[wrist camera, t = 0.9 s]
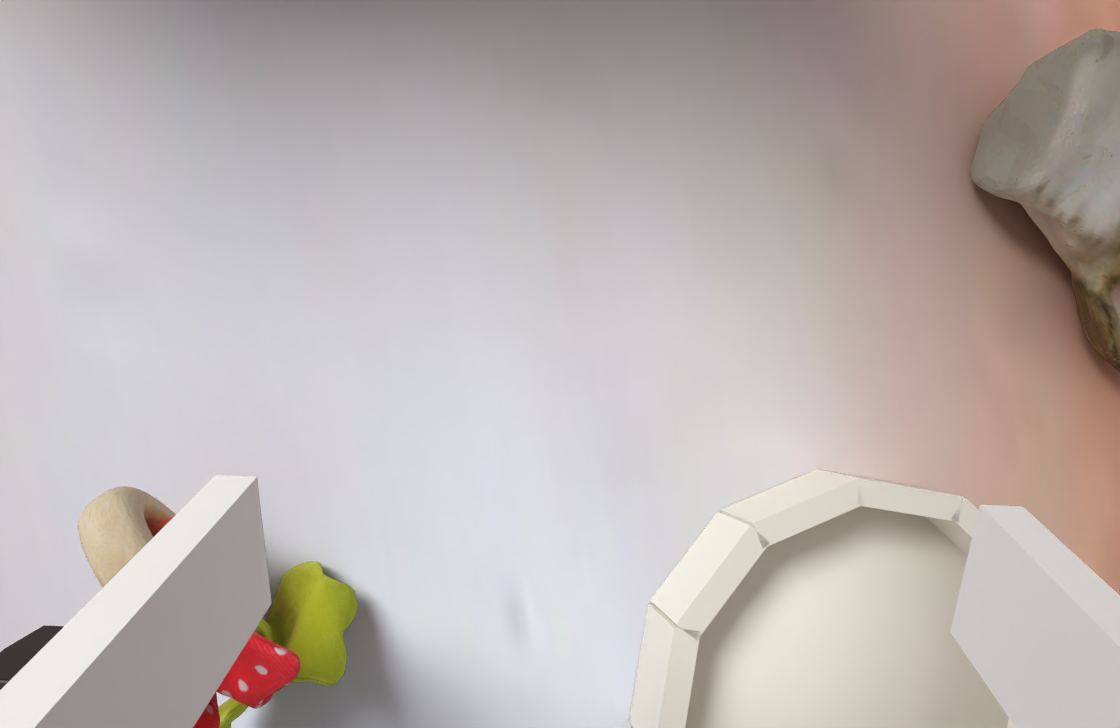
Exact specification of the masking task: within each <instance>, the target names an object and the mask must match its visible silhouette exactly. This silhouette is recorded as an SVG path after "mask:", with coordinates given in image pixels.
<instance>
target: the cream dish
mask: <svg viewBox="0 0 1120 728" xmlns="http://www.w3.org/2000/svg"><path fill="white" fill-rule="evenodd" d="M720 510H721V513H719V512H717V513H716V514H715V516H714V517H713V518H712V520H711V521H710V522H709V524H708V525H707V526H706V528H705V529H704V530H703V531H702V533H701V534H700V535H699V537H698V538H697V539H696V541H695V542H694V543H693V544H692V546H691V547H690V548H689V550H688V551H687V552H686V554H685V555H684V556H683V558H682V559H681V560H680V561H679V563H678V564H677V565H676V567H675V568H674V569H673V571H672V572H671V573H670V575H669V576H668V577H667V578H666V580H665V581H664V582H663V584H662V585H661V586H660V588H659V589H658V590H657V592H656V593H655V594H654V595H653V597H652V598H651V599H650V601H651V602H652V603H653V604H648V609H647V615H646V621H645V627H644V633H643V639H642V645H641V651H640V657H639V663H638V669H637V675H636V681H635V687H634V693H633V699H632V705H631V711H630V719H631V721H630V723H631V726H632V728H1016V727H1015V725H1014V724H1013V723H1012V721H1011V720H1010V718H1009V717H1008V715H1007V714H1006V712H1005V711H1004V709H1003V708H1002V707H1001V705H1000V704H999V702H998V701H997V699H996V698H995V696H994V695H993V694H992V692H991V691H990V689H989V688H988V686H987V685H986V683H985V682H984V681H983V679H982V678H981V676H980V675H979V673H978V672H977V670H976V669H975V668H974V666H973V665H972V663H971V662H970V660H969V659H968V657H967V656H966V654H965V653H964V652H963V650H962V649H961V647H960V646H959V644H958V643H957V641H956V640H955V639H954V637H953V636H952V634H951V633H950V631H951V626H952V622H953V618H954V613H955V609H956V605H957V600H958V596H959V592H960V588H961V583H962V579H963V575H964V570H965V566H966V562H967V557H968V553H969V549H970V544H971V540H972V536H973V531H974V527H975V523H976V519H977V514H978V509H977V508H976V507H975V506H974V505H973V504H972V503H971V502H970V501H969V500H968V499H966V498H965V497H962V496H959V495H954V494H950V493H945V492H940V491H935V490H930V489H925V488H920V487H915V486H910V485H904V484H898V483H893V482H887V481H881V480H875V479H869V478H864V477H858V476H852V475H846V474H841V473H835V472H829V471H823V470H818V471H817V470H813V471H811V472H809V473H806V474H804V475H802V476H799V477H797V478H794V479H792V480H790V481H787V482H785V483H782V484H780V485H778V486H775V487H773V488H771V489H768V490H766V491H763V492H761V493H759V494H756V495H754V496H751V497H749V498H747V499H744V500H742V501H740V502H737V503H735V504H732V505H730V506H728V507H725V508H723V509H720ZM654 604H655V605H654Z"/></svg>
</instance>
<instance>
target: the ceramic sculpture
mask: <svg viewBox="0 0 1120 728" xmlns="http://www.w3.org/2000/svg"><path fill="white" fill-rule="evenodd" d="M970 176H971V178H972V180H973V182H974V183H975V184H976V185H977V186H979V187H980V188H982V189H984V190H985V191H987V192H989V193H991V194H993V195H995V196H998V197H1000V198H1004V199H1008V200H1012V201H1015V202H1018V203H1020V204H1021V205H1022V206H1023V208H1024V209H1025V211H1026V212H1027V213H1028V215H1029V216H1030V218H1031V219H1032V220H1033V222H1034V223H1035V224H1036V225H1037V226H1038V228H1039V229H1040V230H1041V231H1042V232H1043V233H1044V235H1045V236H1046V238H1047V239H1048V241H1049V243H1050V244H1051V246H1052V247H1053V249H1054V250H1055V252H1056V253H1057V254H1058V255H1059V256H1060V258H1061V259H1062V260H1063V261H1064V262H1065V264H1066V265H1067V267H1068V268H1069V270H1070V271H1071V274H1072V278H1071V283H1072V287H1073V291H1074V294H1075V298H1076V302H1077V307H1078V312H1079V316H1080V320H1081V324H1082V328H1083V330H1084V333H1085V335H1086V337H1087V339H1088V340H1089V342H1090V343H1091V345H1092V346H1093V348H1094V349H1095V350H1096V351H1097V352H1098V353H1099V354H1100V355H1101V356H1102V357H1103V358H1104V359H1106V360H1107V361H1108V362H1109V363H1111V364H1112V365H1113V366H1114V368H1115V369H1116V370H1118V371H1120V32H1116V31H1105V30H1103V29H1094V30H1090V31H1088V32H1087V33H1085V34H1084V35H1082V36H1080V37H1078V38H1076V39H1075V40H1073V41H1071V42H1069V43H1067V44H1065V45H1063V46H1062V47H1060V48H1058V49H1056V50H1054V51H1053V52H1051V53H1050V54H1048V55H1046V56H1045V57H1043V58H1041V59H1040V60H1038V61H1037V62H1035V63H1033V64H1032V65H1031V66H1030V67H1028V68H1027V70H1026V72H1025V73H1024V75H1023V76H1022V78H1021V80H1020V81H1019V83H1018V84H1017V85H1016V86H1015V87H1014V88H1013V89H1012V91H1011V92H1010V94H1009V95H1008V97H1007V98H1006V99H1005V100H1004V101H1003V102H1002V103H1001V104H1000V105H999V106H998V107H997V108H996V109H995V110H994V111H993V112H992V113H991V114H990V116H989V117H988V118H987V120H986V121H985V123H984V125H983V127H982V130H981V133H980V136H979V140H978V146H977V149H976V153H975V156H974V158H973V161H972V163H971V174H970Z"/></svg>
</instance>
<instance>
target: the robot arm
mask: <svg viewBox="0 0 1120 728" xmlns="http://www.w3.org/2000/svg"><path fill="white" fill-rule="evenodd" d="M271 604H272V602H271V593H270V585H269V576H268V567H267V559H266V550H265V541H264V533H263V524H262V516H261V507H260V498H259V490H258V481H257V477H250V476H224V475H215V476H214V477H213V478H212V479H211V480H210V481H209V482H208V483H207V484H206V485H205V486H204V487H203V488H202V489H201V490H200V491H199V492H198V493H197V494H196V495H195V496H194V497H193V498H192V499H191V500H190V501H189V502H188V503H187V504H186V505H185V506H184V507H183V508H182V509H181V510H180V511H179V512H178V513H177V514H176V515H175V516H174V517H173V518H172V519H171V520H170V521H169V522H168V523H167V524H166V525H165V526H164V527H163V528H162V529H161V530H160V531H159V532H158V533H157V534H156V535H155V536H154V537H153V538H152V539H151V540H150V541H149V542H148V543H147V544H146V545H145V546H144V547H143V548H142V549H141V550H140V551H139V552H138V553H137V554H136V555H135V556H134V557H133V558H132V559H131V560H130V561H129V562H128V563H127V564H126V565H125V566H124V567H123V568H122V569H121V570H120V571H119V572H118V573H117V574H116V575H115V576H114V577H113V578H112V579H111V580H110V581H109V582H108V583H107V584H106V585H105V586H104V587H103V588H102V589H101V590H100V591H99V592H98V593H97V594H96V595H95V596H94V597H93V598H92V599H91V600H90V601H89V602H88V603H87V604H86V605H85V606H84V607H83V608H82V609H81V610H80V611H79V612H78V613H77V614H76V615H75V616H74V617H73V618H72V619H71V620H70V621H69V622H68V623H67V624H66V625H65V626H42V627H41V628H39V629H37V630H36V631H34V632H32V633H31V634H29V635H27V636H25V637H24V638H22V639H20V640H19V641H17V642H15V643H14V644H12V645H10V646H9V647H7V648H5V649H4V650H3V651H2V652H0V728H193V727H194V725H195V724H196V722H197V721H198V719H199V717H200V716H201V714H202V713H203V711H204V710H205V708H206V706H207V705H208V703H209V702H210V700H211V698H212V697H213V695H214V694H215V692H216V691H217V689H218V687H219V686H220V684H221V683H222V681H223V679H224V678H225V676H226V675H227V673H228V672H229V670H230V668H231V667H232V665H233V664H234V662H235V661H236V659H237V657H238V656H239V654H240V653H241V651H242V649H243V648H244V646H245V645H246V643H247V642H248V640H249V638H250V637H251V635H252V634H253V632H254V630H255V629H256V627H257V626H258V624H259V623H260V621H261V619H262V618H263V616H264V615H265V613H266V611H267V610H268V608H269V607H270V605H271ZM950 633H951V634H952V636H953V637H954V639H955V640H956V641H957V643H958V644H959V646H960V647H961V649H962V650H963V652H964V653H965V654H966V656H967V657H968V659H969V660H970V662H971V663H972V665H973V666H974V668H975V669H976V670H977V672H978V673H979V675H980V676H981V678H982V679H983V681H984V682H985V683H986V685H987V686H988V688H989V689H990V691H991V692H992V694H993V695H994V696H995V698H996V699H997V701H998V702H999V704H1000V705H1001V707H1002V708H1003V709H1004V711H1005V712H1006V714H1007V715H1008V717H1009V718H1010V720H1011V721H1012V723H1013V724H1014V725H1015V727H1016V728H1120V595H1119V594H1118V593H1116V592H1115V591H1114V590H1113V589H1112V588H1111V587H1110V586H1109V585H1108V584H1107V583H1106V582H1105V581H1103V580H1102V579H1101V578H1100V577H1099V576H1098V575H1097V574H1096V573H1095V572H1094V571H1093V570H1091V569H1090V568H1089V567H1088V566H1087V565H1086V564H1085V563H1084V562H1083V561H1082V560H1081V559H1079V558H1078V557H1077V556H1076V555H1075V554H1074V553H1073V552H1072V551H1071V550H1070V549H1069V548H1067V547H1066V546H1065V545H1064V544H1063V543H1062V542H1061V541H1060V540H1059V539H1058V538H1057V537H1056V536H1054V535H1053V534H1052V533H1051V532H1050V531H1049V530H1048V529H1047V528H1046V527H1045V526H1044V525H1042V524H1041V523H1040V522H1039V521H1038V520H1037V519H1036V518H1035V517H1034V516H1033V515H1032V514H1030V513H1029V512H1028V511H1027V510H1026V509H1025V508H1024V507H1023V506H998V505H980V506H979V510H978V514H977V519H976V523H975V527H974V531H973V536H972V540H971V544H970V549H969V553H968V557H967V562H966V566H965V570H964V575H963V579H962V583H961V588H960V592H959V596H958V600H957V605H956V609H955V613H954V618H953V622H952V626H951V631H950Z"/></svg>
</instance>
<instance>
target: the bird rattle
mask: <svg viewBox="0 0 1120 728" xmlns="http://www.w3.org/2000/svg"><path fill="white" fill-rule="evenodd" d="M175 515H176V514H175V513H174V512H172V511H171V510H170V509H169V508H168V507H166V506H165V505H164V504H163V503H161V502H160V501H159V500H157V499H156V498H154V497H152V496H151V495H149V494H147V493H145V492H143V491H141V490H139V489H136V488H132V487H126V486H125V487H116V488H113V489H111V490H108V491H107V492H105V493H104V494H102V495H100V496H99V497H97V498H96V499H95V500H93V501H92V502H91V503H89V504H88V505H87V506H86V507H85V509H84V510H83V512H82V514H81V516H80V519H79V524H78V531H79V536H80V541H81V544H82V547H83V550H84V552H85V555H86V557H87V560H88V562H89V564H90V566H91V568H92V570H93V572H94V574H95V576H96V577H97V579H98V581H99V582H100V584H101V586H102V587H104V586H105V585H106V584H107V583H108V582H109V581H110V580H111V579H112V578H113V577H114V576H115V575H116V574H117V573H118V572H119V571H120V570H121V569H122V568H123V567H124V566H125V565H126V564H127V563H128V562H129V561H130V560H131V559H132V558H133V557H134V556H135V555H136V554H137V553H138V552H139V551H140V550H141V549H142V548H143V547H144V546H145V545H146V544H147V543H148V542H149V541H150V540H151V539H152V538H153V537H154V536H155V535H156V534H157V533H158V532H159V531H160V530H161V529H162V528H163V527H164V526H165V525H166V524H167V523H168V522H169V521H170V520H171V519H172V518H173V517H174V516H175ZM357 609H358V605H357V600H356V595H355V591H354V590H353V589H352V588H351V587H350V586H348V585H347V584H345V583H342V582H340V581H337V580H334V579H332V578H330V577H328V576H326V575H325V574H324V573H323V569H322V565H321V564H320V563H318V562H310V561H309V562H306V563H303V564H300V565H298V566H296V567H294V568H292V569H291V570H289V571H287V572H286V573H285V574H284V575H283V577H282V579H281V582H280V584H279V587H278V590H277V592H276V595H275V598H274V601H273V604H272V608H271V611H270V613H269V615H268V617H267V620H266V621H264V618H262V619H261V621H260V623H259V624H258V626H257V627H256V629H255V630H254V632H253V634H252V635H251V637H250V638H249V640H248V642H247V643H246V645H245V646H244V648H243V649H242V651H241V653H240V654H239V656H238V657H237V659H236V661H235V662H234V664H233V665H232V667H231V668H230V670H229V672H228V673H227V675H226V676H225V678H224V679H223V681H222V683H221V684H220V686H219V687H218V689H217V691H216V692H218V693H220V694H222V695H225V696H228V697H231V698H230V699H229V700H228V701H226V702H225V703H223V704H222V705H221V706H219V707H218V704H217V697H216V692H215V694H214V695H213V697H212V698H211V700H210V702H209V703H208V705H207V706H206V708H205V710H204V711H203V713H202V714H201V716H200V717H199V719H198V721H197V722H196V724H195V725H194V727H193V728H231V722H232V721H234V720H235V719H236V718H237V717H239V716H240V715H241V714H242V713H243V712H244V711H245V710H246V709H247V707H248V706H249V707H252V708H255V709H256V708H260V707H262V706H263V705H265V704H266V703H267V702H268V701H269V700H270V699H271V697H272V695H273V694H274V692H276V691H278V690H280V689H281V688H282V687H285V686H286V685H288V684H289V683H291V682H306V681H307V682H314V683H317V684H320V685H324V686H331V685H334V684H335V683H337V682H338V681H339V680H340V678H341V677H342V676H343V675H344V672H345V667H346V661H347V652H346V647H345V643H344V639H343V632H344V631H345V630H346V628H347V627H348V626H349V625H350V624H351V623H352V621H353V619H354V618H355V615H356V613H357Z"/></svg>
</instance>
